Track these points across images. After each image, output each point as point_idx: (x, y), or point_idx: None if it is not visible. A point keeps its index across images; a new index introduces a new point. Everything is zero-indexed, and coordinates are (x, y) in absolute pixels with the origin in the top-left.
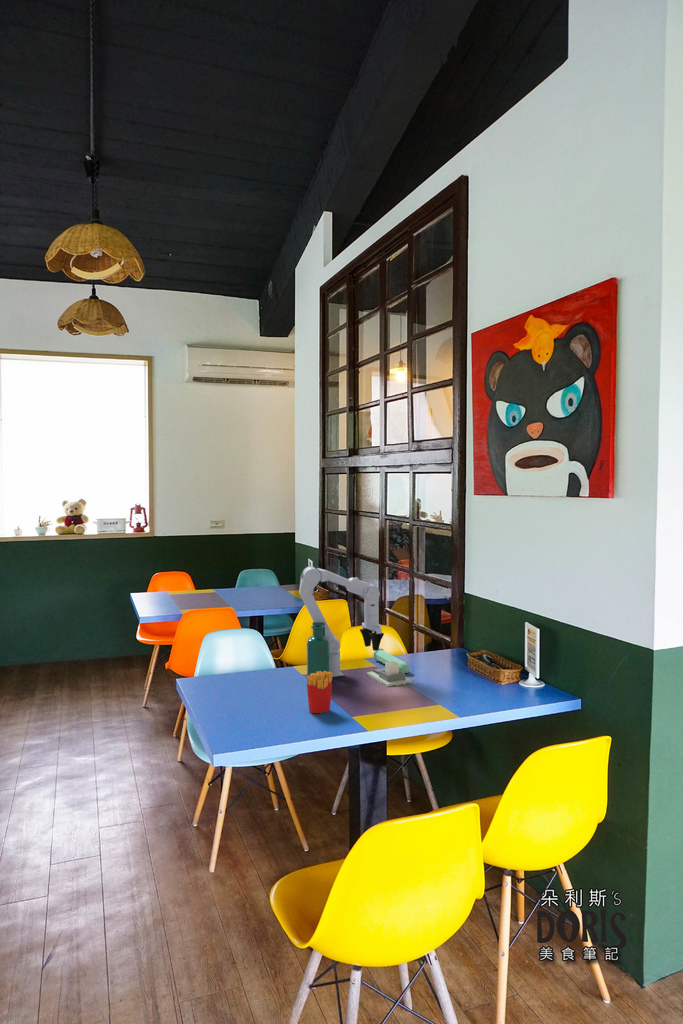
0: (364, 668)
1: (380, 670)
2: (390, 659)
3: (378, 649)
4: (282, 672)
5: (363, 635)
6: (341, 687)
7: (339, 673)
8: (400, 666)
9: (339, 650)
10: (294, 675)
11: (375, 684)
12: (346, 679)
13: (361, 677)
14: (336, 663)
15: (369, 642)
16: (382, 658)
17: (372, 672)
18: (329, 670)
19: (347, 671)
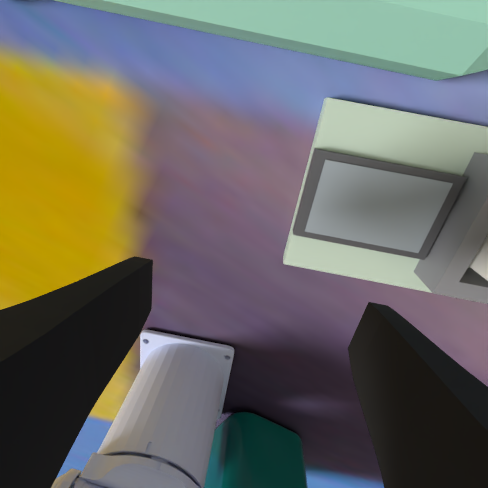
0: (156, 190)
1: (351, 213)
2: (255, 3)
3: (392, 311)
4: (80, 447)
5: (55, 474)
6: (366, 426)
7: (215, 362)
8: (486, 61)
9: (143, 465)
10: None
11: (453, 323)
12: (287, 364)
13: (304, 304)
14: (213, 429)
15: (129, 296)
16: (111, 3)
17: (308, 244)
18: (292, 484)
19: (170, 294)
